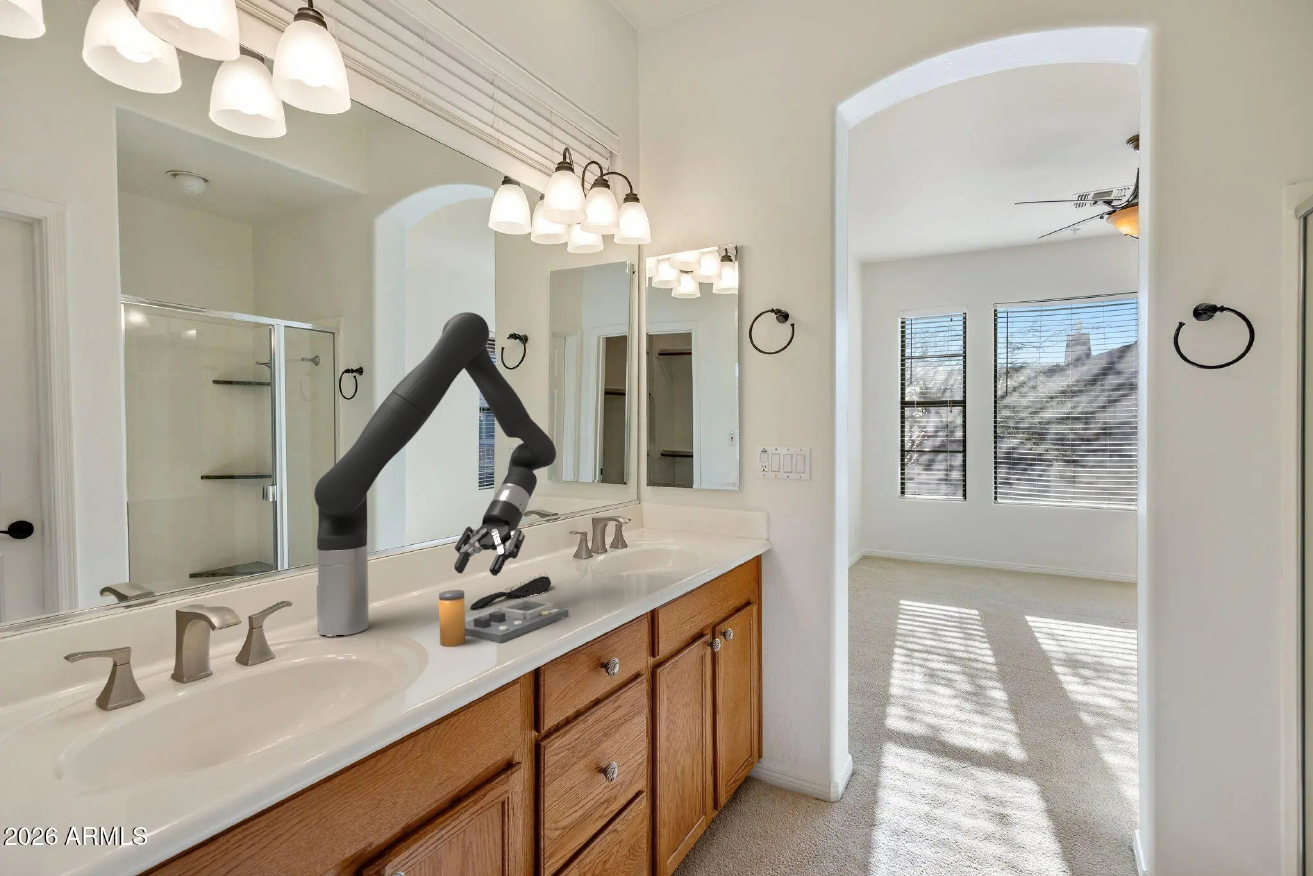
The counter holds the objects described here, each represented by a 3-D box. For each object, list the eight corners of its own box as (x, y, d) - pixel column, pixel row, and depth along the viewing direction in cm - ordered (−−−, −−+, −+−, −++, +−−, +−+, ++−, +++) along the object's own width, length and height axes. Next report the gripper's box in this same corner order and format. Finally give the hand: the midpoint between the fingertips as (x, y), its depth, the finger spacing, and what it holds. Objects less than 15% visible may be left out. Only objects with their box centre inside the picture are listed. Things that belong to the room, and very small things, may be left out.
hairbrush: (458, 597, 144) (534, 571, 165) (459, 613, 144) (535, 585, 165) (483, 601, 139) (558, 574, 160) (484, 618, 139) (558, 588, 160)
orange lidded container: (434, 644, 117) (433, 594, 117) (454, 637, 121) (453, 589, 121) (451, 648, 115) (450, 596, 115) (470, 640, 119) (469, 591, 119)
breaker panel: (453, 633, 124) (453, 617, 124) (523, 609, 141) (523, 595, 141) (500, 643, 117) (500, 626, 117) (568, 616, 134) (568, 601, 134)
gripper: (472, 498, 136) (437, 560, 125) (527, 498, 131) (496, 563, 120) (487, 519, 141) (455, 580, 130) (541, 520, 135) (512, 584, 125)
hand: (475, 572), depth 125 cm, fingers open, 8 cm apart
